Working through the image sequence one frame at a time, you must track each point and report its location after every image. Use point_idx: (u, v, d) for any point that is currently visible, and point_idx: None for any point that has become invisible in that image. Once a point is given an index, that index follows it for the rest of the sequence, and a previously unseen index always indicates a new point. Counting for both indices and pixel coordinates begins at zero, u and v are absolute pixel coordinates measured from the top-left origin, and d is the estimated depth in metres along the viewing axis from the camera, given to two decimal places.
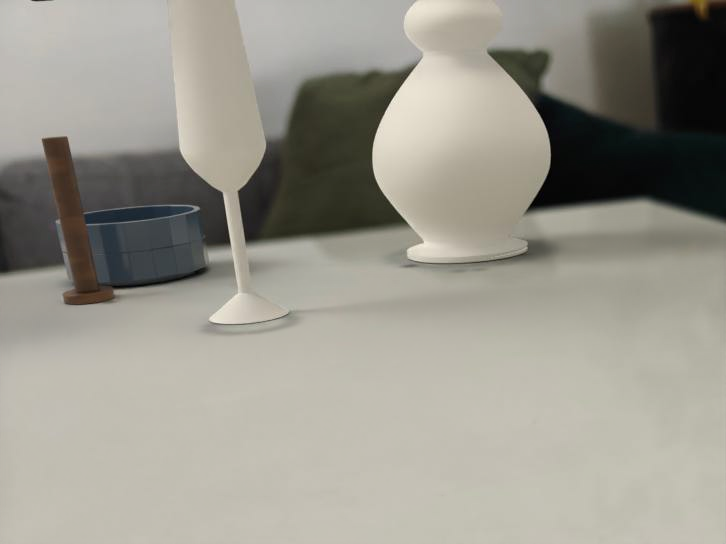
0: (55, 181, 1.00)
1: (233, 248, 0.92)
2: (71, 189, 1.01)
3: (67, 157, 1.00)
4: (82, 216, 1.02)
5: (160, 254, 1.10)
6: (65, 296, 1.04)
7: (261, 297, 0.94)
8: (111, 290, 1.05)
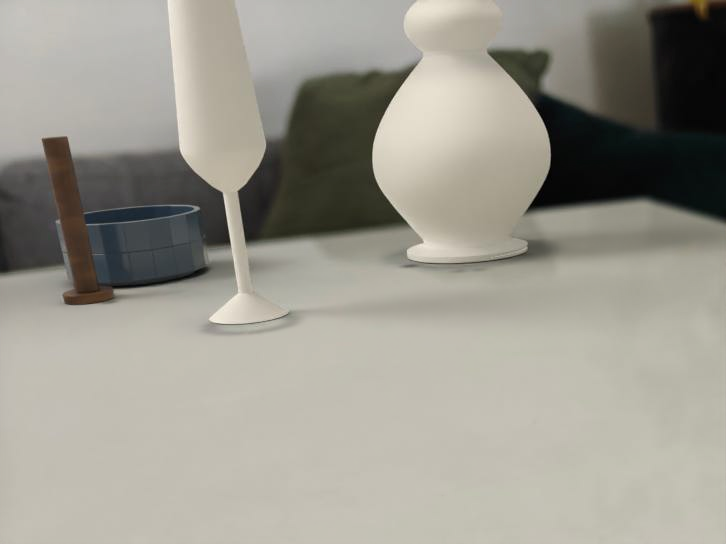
0: (55, 181, 1.00)
1: (233, 248, 0.92)
2: (71, 189, 1.01)
3: (67, 157, 1.00)
4: (82, 216, 1.02)
5: (160, 254, 1.10)
6: (65, 296, 1.04)
7: (261, 297, 0.94)
8: (111, 290, 1.05)
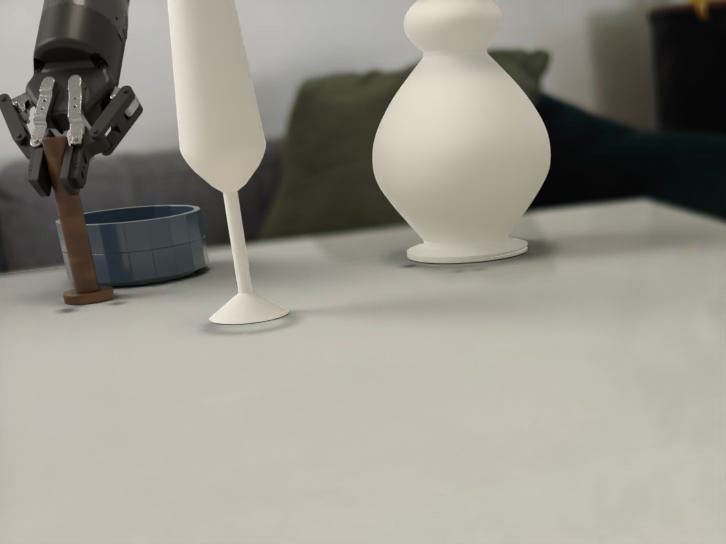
0: (54, 181, 1.00)
1: (233, 248, 0.92)
2: None
3: None
4: (82, 216, 1.02)
5: (160, 254, 1.10)
6: (65, 296, 1.04)
7: (261, 297, 0.94)
8: (111, 290, 1.05)
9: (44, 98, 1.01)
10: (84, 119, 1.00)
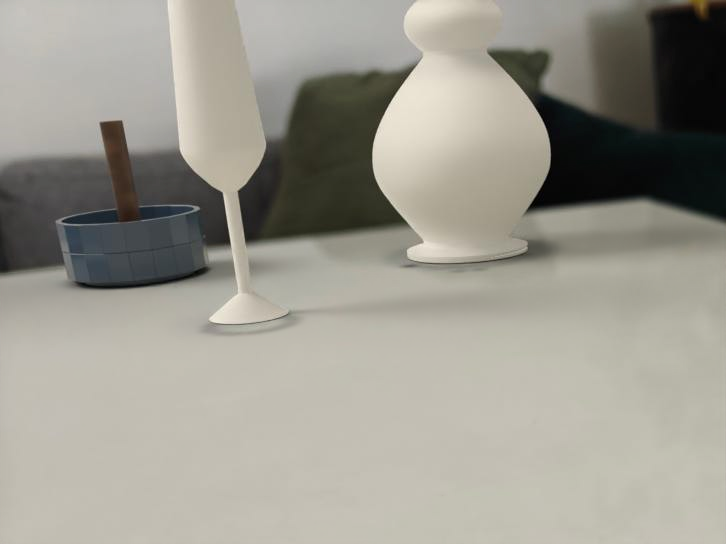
0: (110, 160, 1.11)
1: (233, 248, 0.92)
2: (125, 168, 1.11)
3: (122, 139, 1.10)
4: (134, 193, 1.13)
5: (160, 254, 1.10)
6: None
7: (261, 297, 0.94)
8: None
9: None
10: None
